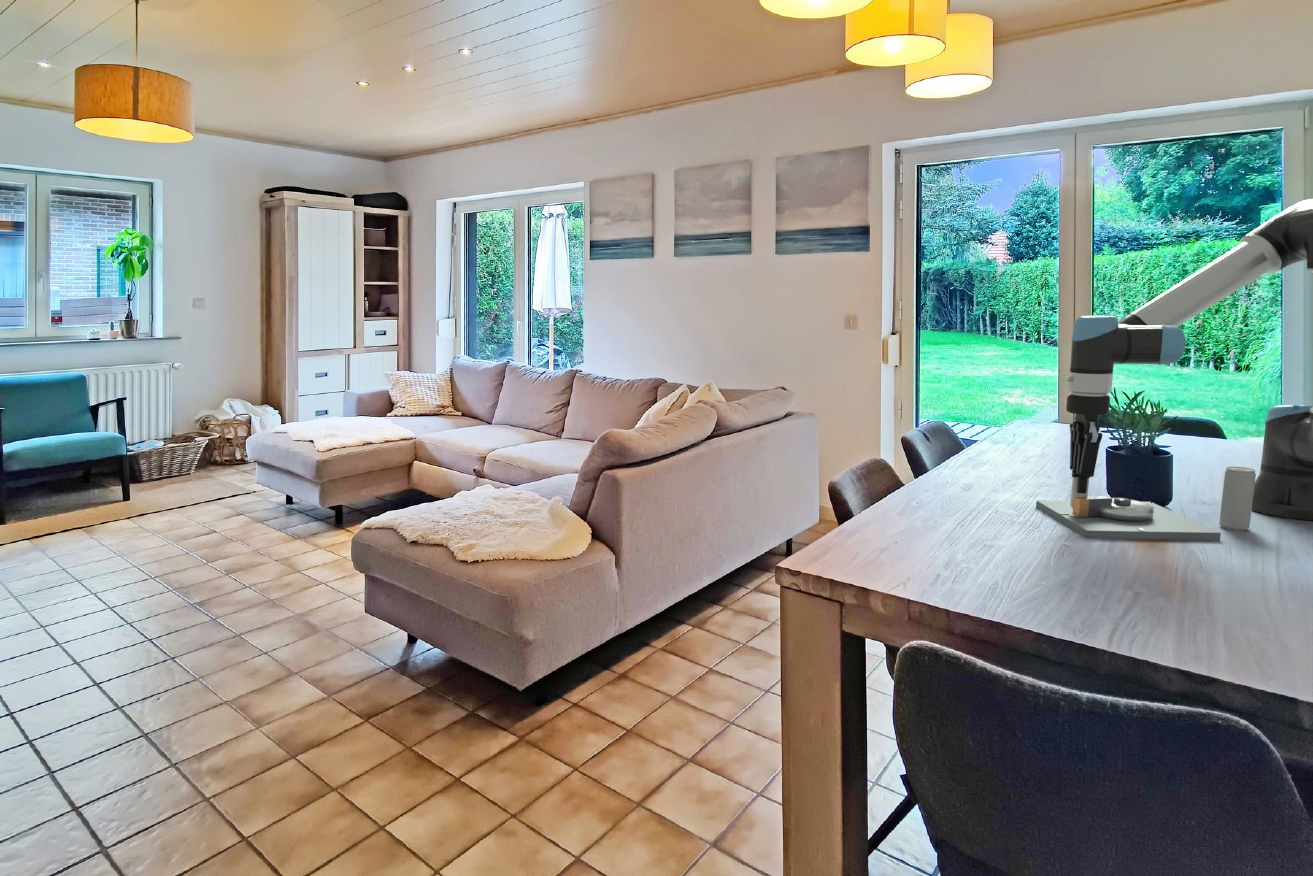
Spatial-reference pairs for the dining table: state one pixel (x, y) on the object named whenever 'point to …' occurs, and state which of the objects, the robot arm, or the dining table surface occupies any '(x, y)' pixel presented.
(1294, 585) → the dining table surface
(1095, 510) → the dial
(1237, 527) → the beverage can
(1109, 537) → the dial board
